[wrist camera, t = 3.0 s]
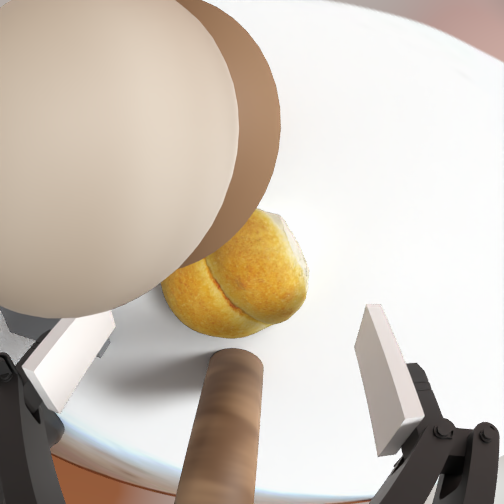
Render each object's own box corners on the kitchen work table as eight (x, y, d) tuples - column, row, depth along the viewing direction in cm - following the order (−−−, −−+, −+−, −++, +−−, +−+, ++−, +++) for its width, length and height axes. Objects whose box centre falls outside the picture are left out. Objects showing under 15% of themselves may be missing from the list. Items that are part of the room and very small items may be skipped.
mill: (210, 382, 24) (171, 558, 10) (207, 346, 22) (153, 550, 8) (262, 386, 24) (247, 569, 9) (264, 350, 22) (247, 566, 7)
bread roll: (146, 246, 19) (121, 275, 16) (267, 182, 17) (265, 199, 13) (210, 336, 22) (200, 375, 18) (323, 293, 20) (332, 330, 16)
